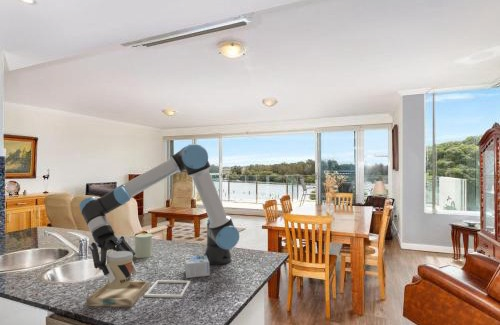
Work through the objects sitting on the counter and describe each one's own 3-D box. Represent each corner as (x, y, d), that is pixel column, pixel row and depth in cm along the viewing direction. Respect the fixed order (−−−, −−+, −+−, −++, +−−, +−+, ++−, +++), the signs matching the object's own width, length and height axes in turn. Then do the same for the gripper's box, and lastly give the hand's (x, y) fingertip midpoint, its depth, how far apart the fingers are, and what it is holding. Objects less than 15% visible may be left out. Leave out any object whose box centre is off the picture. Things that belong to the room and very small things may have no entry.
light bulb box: (184, 256, 139) (206, 254, 142) (184, 270, 139) (206, 268, 142) (185, 263, 129) (209, 261, 131) (185, 278, 128) (209, 276, 131)
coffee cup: (121, 291, 104) (122, 258, 105) (99, 288, 107) (101, 256, 107) (137, 282, 114) (138, 251, 114) (117, 279, 116) (118, 249, 116)
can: (152, 252, 167) (152, 232, 168) (151, 257, 159) (152, 235, 159) (135, 254, 164) (135, 233, 165) (134, 258, 156) (134, 236, 156)
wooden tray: (148, 287, 118) (148, 281, 118) (131, 307, 101) (131, 299, 102) (109, 286, 119) (109, 280, 119) (85, 306, 102) (85, 299, 102)
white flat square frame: (190, 282, 124) (190, 280, 124) (181, 297, 109) (181, 295, 109) (157, 281, 124) (157, 280, 124) (144, 296, 110) (144, 294, 110)
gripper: (120, 230, 128) (143, 273, 119) (70, 240, 109) (92, 292, 101) (128, 220, 125) (152, 263, 117) (77, 228, 107) (101, 280, 98)
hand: (124, 277), depth 109 cm, fingers closed on coffee cup, 9 cm apart
